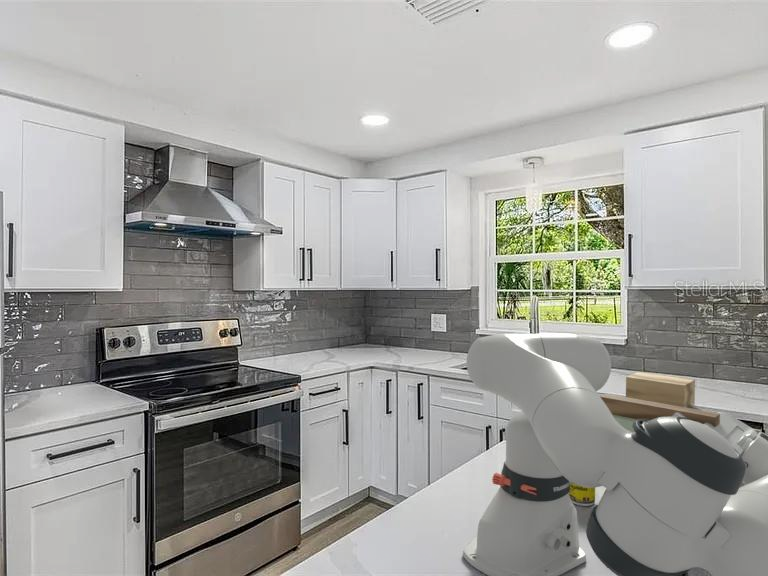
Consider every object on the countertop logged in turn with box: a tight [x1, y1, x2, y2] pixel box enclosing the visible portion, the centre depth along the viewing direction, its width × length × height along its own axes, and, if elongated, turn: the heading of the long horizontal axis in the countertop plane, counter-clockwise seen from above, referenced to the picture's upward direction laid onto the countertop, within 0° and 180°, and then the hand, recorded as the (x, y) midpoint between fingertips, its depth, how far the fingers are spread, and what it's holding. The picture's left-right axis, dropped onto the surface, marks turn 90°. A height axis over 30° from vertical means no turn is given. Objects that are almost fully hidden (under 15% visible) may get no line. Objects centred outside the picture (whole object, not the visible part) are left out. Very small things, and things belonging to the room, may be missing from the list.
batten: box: [599, 393, 720, 427], centre depth 104 cm, size 4×22×4 cm, turn 44°
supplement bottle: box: [569, 482, 596, 507], centre depth 109 cm, size 6×6×10 cm
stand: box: [625, 371, 696, 408], centre depth 114 cm, size 8×12×26 cm, turn 44°
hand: (680, 410), depth 101 cm, fingers open, 8 cm apart
